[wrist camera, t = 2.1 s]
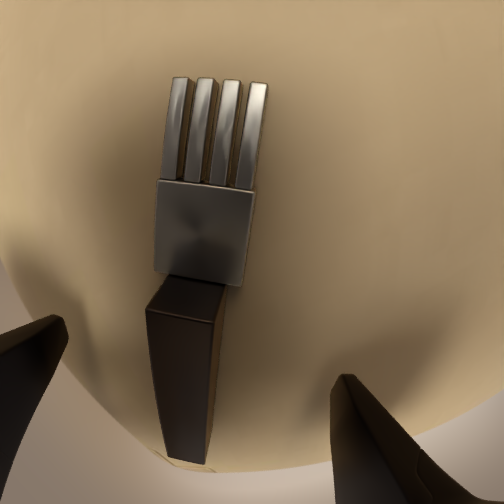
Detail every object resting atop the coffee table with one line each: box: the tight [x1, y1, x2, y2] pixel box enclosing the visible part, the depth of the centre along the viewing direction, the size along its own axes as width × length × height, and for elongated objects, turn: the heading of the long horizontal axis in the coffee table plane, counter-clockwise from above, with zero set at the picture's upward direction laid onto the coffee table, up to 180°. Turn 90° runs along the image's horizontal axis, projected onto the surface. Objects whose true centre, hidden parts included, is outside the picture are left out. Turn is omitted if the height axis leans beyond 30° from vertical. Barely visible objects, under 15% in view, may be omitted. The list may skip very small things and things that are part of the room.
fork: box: [145, 77, 268, 465], centre depth 7 cm, size 13×2×2 cm, turn 172°
